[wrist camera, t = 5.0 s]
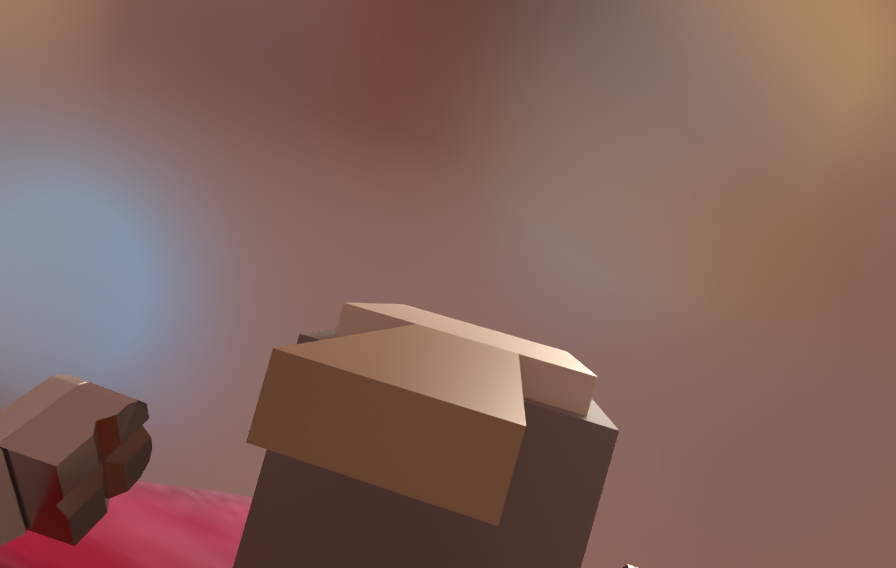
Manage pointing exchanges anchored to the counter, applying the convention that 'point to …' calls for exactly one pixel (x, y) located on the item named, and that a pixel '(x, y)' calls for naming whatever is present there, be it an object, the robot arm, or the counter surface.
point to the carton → (436, 507)
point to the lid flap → (415, 403)
